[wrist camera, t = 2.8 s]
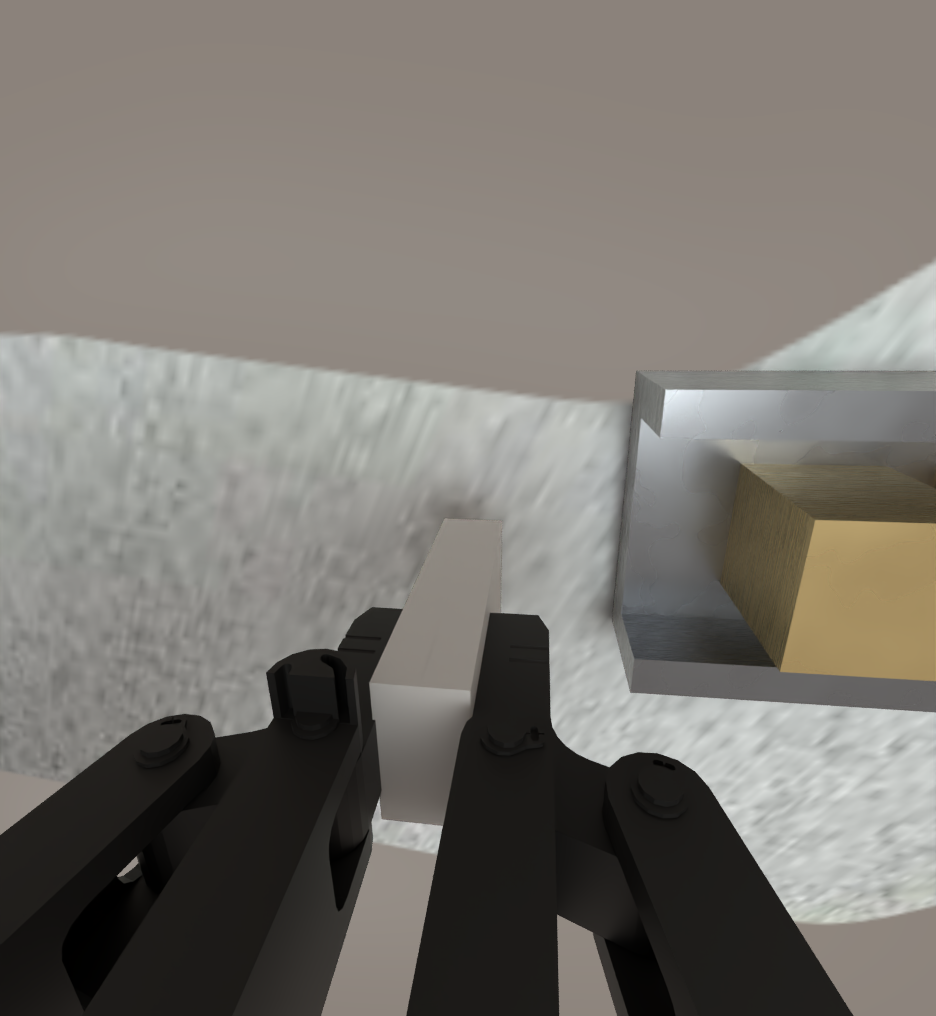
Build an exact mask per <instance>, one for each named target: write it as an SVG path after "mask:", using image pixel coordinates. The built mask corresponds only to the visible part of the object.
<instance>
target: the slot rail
mask: <svg viewBox="0 0 936 1016" xmlns="http://www.w3.org/2000/svg"><path fill="white" fill-rule="evenodd" d="M741 463H746V464H797V465H848V466H888V467H890V468H892V469H894V470H896V471H898V472H901V473H903V474H905V475H907V476H909V477H912V478H914V479H916V480H918V481H920V482H923V483H925V484H927V485H929V486H931V487H934V488H936V371H636V379H635V390H634V400H633V410H632V420H631V431H630V441H629V451H628V462H627V472H626V482H625V492H624V503H623V513H622V523H621V534H620V544H619V554H618V565H617V575H616V585H615V596H614V606H613V616H612V622H613V626H614V629H615V633H616V637H617V641H618V645H619V649H620V653H621V657H622V661H623V665H624V669H625V673H626V677H627V681H628V685H629V689H630V692H631V693H647V694H662V695H678V696H693V697H708V698H724V699H739V700H754V701H770V702H785V703H801V704H816V705H831V706H847V707H862V708H877V709H893V710H908V711H924V712H936V681H924V680H907V679H890V678H873V677H856V676H839V675H823V674H806V673H789V672H780V671H779V670H778V668H777V667H776V665H775V664H774V662H773V661H772V659H771V658H770V657H769V655H768V654H767V652H766V651H765V649H764V648H763V646H762V645H761V643H760V642H759V640H758V639H757V637H756V636H755V634H754V633H753V631H752V630H751V628H750V627H749V625H748V624H747V622H746V621H745V619H744V618H743V616H742V615H741V613H740V612H739V610H738V609H737V607H736V606H735V604H734V603H733V601H732V600H731V598H730V597H729V596H728V594H727V593H726V591H725V590H724V588H723V587H722V585H721V584H720V582H721V577H722V571H723V565H724V559H725V554H726V548H727V542H728V536H729V531H730V525H731V519H732V513H733V508H734V502H735V496H736V490H737V485H738V479H739V473H740V467H741Z"/></svg>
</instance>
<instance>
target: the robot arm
mask: <svg viewBox="0 0 936 1016" xmlns="http://www.w3.org/2000/svg"><path fill="white" fill-rule="evenodd" d="M501 564H502V521H498V520H472V519H445V518H444V521H443V523H442V525H441V527H440V529H439V532H438V534H437V536H436V538H435V540H434V542H433V545H432V547H431V549H430V551H429V553H428V556H427V558H426V560H425V562H424V564H423V567H422V569H421V571H420V573H419V575H418V577H417V580H416V582H415V584H414V586H413V588H412V591H411V593H410V595H409V597H408V599H407V601H406V604H405V606H404V608H403V609H392V608H376V607H372V608H370V609H369V610H367V611H366V612H365V613H363V614H362V615H361V616H359V617H358V618H357V619H355V620H354V622H353V623H352V625H351V627H350V629H349V630H348V632H347V634H346V637H345V638H344V639H343V640H342V642H341V644H340V645H339V647H338V651H334V650H330V649H313V650H306V651H303V652H299V653H295V654H292V655H290V656H288V657H286V658H284V659H282V660H281V661H279V662H277V663H276V664H275V665H274V666H273V667H272V668H271V669H270V670H268V671H267V672H266V675H267V681H268V687H269V692H270V698H271V704H272V710H273V716H274V718H273V720H272V722H271V723H270V725H269V726H268V728H266V729H262V730H258V731H253V732H248V733H242V734H236V735H229V736H223V737H217V738H215V734H214V731H213V728H212V725H211V722H209V721H208V720H206V719H204V718H203V717H201V716H197V715H189V714H182V715H175V716H169V717H165V718H162V719H160V720H157V721H154V722H152V723H149V724H147V725H145V726H144V727H142V728H140V729H139V730H137V731H135V732H134V733H132V734H131V735H129V736H128V737H127V738H125V739H124V740H123V741H121V742H120V743H119V744H118V745H116V746H115V747H114V748H112V749H111V750H110V751H108V752H107V753H106V754H105V755H103V756H102V757H101V758H99V759H98V760H97V761H96V762H94V763H93V764H92V765H90V766H89V767H88V768H86V769H85V770H84V771H83V772H81V773H80V774H79V775H77V776H76V777H75V778H74V779H72V780H71V781H70V782H68V783H67V784H66V785H64V786H63V787H62V788H61V789H59V790H58V791H57V792H56V793H54V794H53V795H52V796H50V797H49V798H48V799H46V800H45V801H44V802H42V803H41V804H40V805H39V806H37V807H36V808H35V809H33V810H32V811H31V812H30V813H28V814H27V815H26V816H25V817H23V818H22V819H21V820H20V821H18V822H17V823H15V824H14V825H13V826H11V827H10V828H9V829H8V830H6V831H5V832H4V833H3V834H1V835H0V1016H321V1013H322V1010H323V1007H324V1004H325V1001H326V997H327V994H328V991H329V987H330V984H331V981H332V978H333V975H334V971H335V968H336V965H337V962H338V958H339V955H340V952H341V949H342V945H343V942H344V939H345V936H346V932H347V929H348V926H349V922H350V920H351V916H352V913H353V910H354V907H355V904H356V900H357V897H358V894H359V890H360V887H361V884H362V881H363V878H364V874H365V871H366V868H367V865H368V861H369V858H370V855H371V851H372V842H373V833H372V823H371V821H372V818H373V815H374V812H375V809H376V806H377V803H378V800H379V797H380V806H381V817H382V819H386V820H395V821H404V822H413V823H422V824H432V825H441V826H443V829H442V834H441V839H440V844H439V849H438V855H437V860H436V865H435V871H434V875H433V881H432V886H431V891H430V896H429V901H428V906H427V912H426V917H425V922H424V927H423V932H422V938H421V943H420V948H419V953H418V958H417V963H416V968H415V974H414V979H413V984H412V989H411V995H410V999H409V1005H408V1010H407V1016H559V991H558V990H559V989H558V988H559V987H558V946H557V945H558V941H557V915H559V916H561V917H563V918H565V919H567V920H569V921H571V922H573V923H575V924H577V925H579V926H582V927H583V928H585V929H587V930H589V931H591V932H593V936H594V940H595V943H596V946H597V950H598V953H599V956H600V960H601V963H602V966H603V970H604V973H605V977H606V979H607V983H608V987H609V990H610V993H611V997H612V1000H613V1003H614V1006H615V1010H616V1013H617V1016H853V1014H852V1013H851V1012H850V1010H849V1009H848V1007H847V1005H846V1003H845V1002H844V1000H843V999H842V997H841V996H840V994H839V992H838V991H837V989H836V988H835V986H834V984H833V983H832V981H831V980H830V978H829V977H828V975H827V973H826V972H825V970H824V969H823V967H822V965H821V964H820V962H819V961H818V959H817V958H816V956H815V954H814V953H813V952H812V950H811V948H810V946H809V945H808V943H807V942H806V940H805V939H804V937H803V935H802V934H801V932H800V931H799V929H798V927H797V926H796V924H795V923H794V921H793V920H792V918H791V916H790V915H789V913H788V912H787V910H786V908H785V907H784V905H783V904H782V902H781V901H780V899H779V897H778V896H777V894H776V893H775V891H774V889H773V888H772V886H771V885H770V883H769V882H768V880H767V878H766V877H765V875H764V874H763V872H762V870H761V869H760V867H759V866H758V864H757V863H756V861H755V859H754V858H753V856H752V855H751V853H750V852H749V850H748V848H747V847H746V845H745V844H744V842H743V840H742V839H741V837H740V836H739V834H738V833H737V831H736V829H735V828H734V826H733V825H732V823H731V821H730V820H729V818H728V817H727V815H726V814H725V812H724V810H723V809H722V807H721V806H720V804H719V802H718V801H717V799H716V798H715V796H714V795H713V793H712V791H711V790H710V788H709V787H708V786H707V785H706V783H705V782H704V781H703V780H702V779H701V778H700V777H699V775H698V774H697V773H696V772H695V771H693V770H692V769H690V768H689V767H687V766H686V765H684V764H682V763H681V762H679V761H678V760H675V759H672V758H670V757H667V756H664V755H661V754H658V753H642V752H637V753H634V754H630V755H627V756H623V757H621V758H620V759H619V760H618V761H616V762H615V763H614V764H613V765H612V766H611V767H607V766H604V765H602V764H599V763H596V762H593V761H591V760H588V759H586V758H584V757H582V756H580V755H578V754H576V753H575V752H573V751H572V750H571V749H569V748H568V747H566V746H565V745H564V744H563V742H562V741H561V740H560V739H559V738H558V737H557V735H556V733H555V731H554V729H553V728H552V723H551V718H550V668H549V630H548V629H547V627H546V626H545V624H544V623H543V621H542V620H541V619H540V617H539V616H538V615H522V614H505V613H501ZM136 856H137V859H138V862H139V863H138V864H137V865H136V866H135V867H134V868H133V869H132V870H131V871H129V872H128V873H126V874H125V875H124V876H121V877H117V875H118V874H119V873H120V872H121V871H122V870H123V869H124V868H125V867H126V866H127V865H128V864H129V863H130V862H131V861H132V860H133V859H134V858H135V857H136Z"/></svg>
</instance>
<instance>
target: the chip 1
mask: <svg viewBox="0 0 936 1016" xmlns="http://www.w3.org/2000/svg"><path fill="white" fill-rule="evenodd" d="M720 584H721V585H722V587H723V588H724V590H725V591H726V593H727V594H728V596H729V597H730V598H731V600H732V601H733V603H734V604H735V606H736V607H737V609H738V610H739V612H740V613H741V615H742V616H743V618H744V619H745V621H746V622H747V624H748V625H749V627H750V628H751V630H752V631H753V633H754V634H755V636H756V637H757V639H758V640H759V642H760V643H761V645H762V646H763V648H764V649H765V651H766V652H767V654H768V655H769V657H770V658H771V659H772V661H773V662H774V664H775V665H776V667H777V668H778V670H779V671H780V672H789V673H806V674H823V675H839V676H856V677H873V678H890V679H907V680H924V681H936V488H934V487H931V486H929V485H927V484H925V483H923V482H920V481H918V480H916V479H914V478H912V477H909V476H907V475H905V474H903V473H901V472H898V471H896V470H894V469H892V468H890V467H888V466H848V465H797V464H746V463H741V467H740V473H739V479H738V485H737V490H736V496H735V502H734V508H733V513H732V519H731V525H730V531H729V536H728V542H727V548H726V554H725V559H724V565H723V571H722V577H721V582H720Z"/></svg>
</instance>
